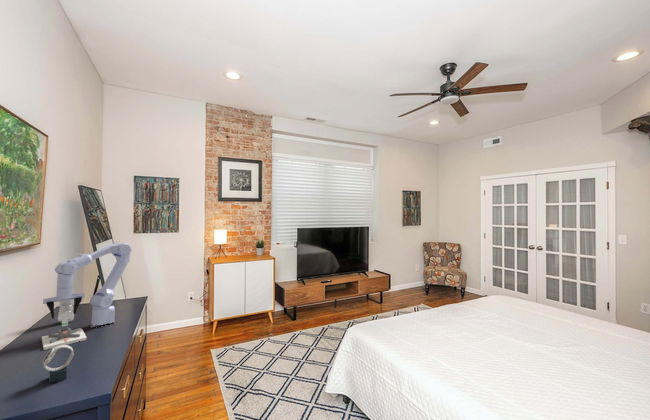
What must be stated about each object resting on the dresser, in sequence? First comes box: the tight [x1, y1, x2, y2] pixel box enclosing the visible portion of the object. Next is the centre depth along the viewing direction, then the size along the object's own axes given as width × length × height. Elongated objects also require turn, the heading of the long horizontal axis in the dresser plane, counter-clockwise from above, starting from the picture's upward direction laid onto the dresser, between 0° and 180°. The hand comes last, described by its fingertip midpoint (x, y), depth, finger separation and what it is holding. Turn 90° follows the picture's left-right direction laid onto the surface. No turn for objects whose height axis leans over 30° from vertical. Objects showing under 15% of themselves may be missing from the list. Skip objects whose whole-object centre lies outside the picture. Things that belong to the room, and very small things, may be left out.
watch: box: [41, 344, 75, 385], centre depth 98 cm, size 6×8×11 cm
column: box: [57, 310, 72, 327], centre depth 129 cm, size 4×4×6 cm
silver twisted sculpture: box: [57, 290, 76, 324], centre depth 151 cm, size 6×7×20 cm
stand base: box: [41, 327, 88, 351], centre depth 129 cm, size 14×16×4 cm
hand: (63, 315), depth 133 cm, fingers open, 7 cm apart
